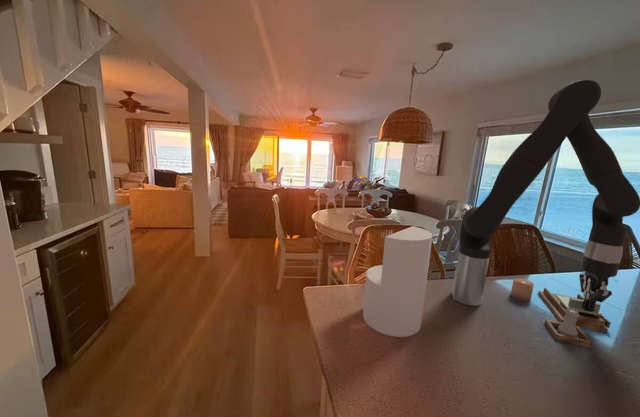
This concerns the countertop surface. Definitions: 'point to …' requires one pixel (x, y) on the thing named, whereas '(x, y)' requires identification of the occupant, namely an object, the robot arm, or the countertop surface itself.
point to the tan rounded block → (522, 289)
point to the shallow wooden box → (585, 318)
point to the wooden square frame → (583, 341)
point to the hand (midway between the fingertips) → (587, 310)
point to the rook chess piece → (569, 323)
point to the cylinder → (398, 284)
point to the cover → (577, 305)
